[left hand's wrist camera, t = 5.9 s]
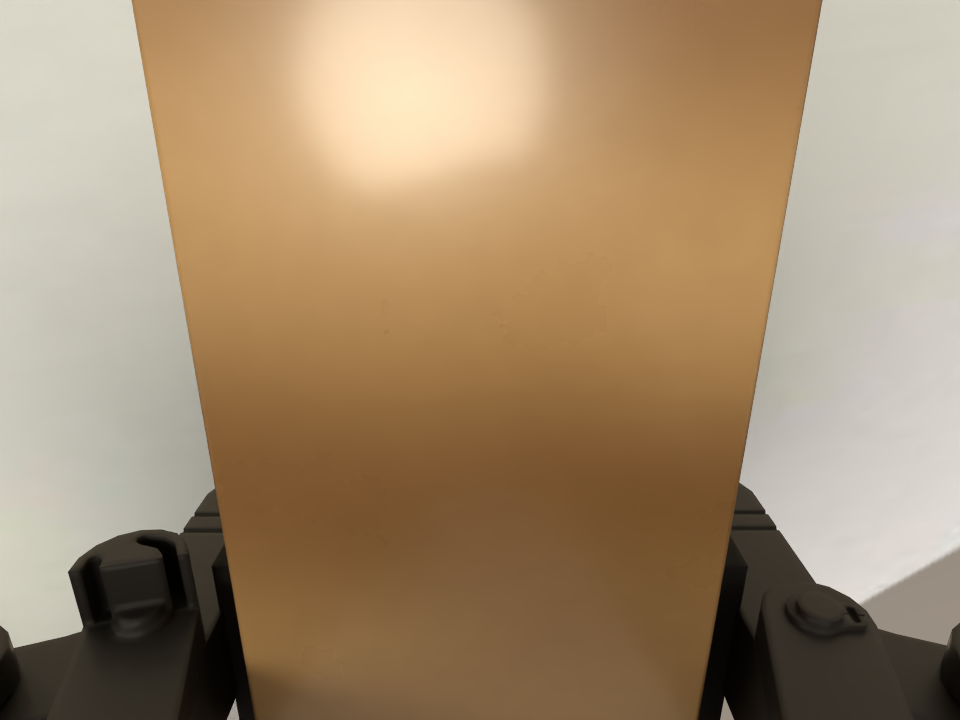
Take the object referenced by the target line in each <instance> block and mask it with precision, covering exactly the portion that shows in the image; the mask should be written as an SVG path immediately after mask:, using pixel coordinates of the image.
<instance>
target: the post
mask: <svg viewBox="0 0 960 720" xmlns="http://www.w3.org/2000/svg"><path fill="white" fill-rule="evenodd" d="M132 5H133V11H134V17H135V23H136V28H137V34H138V40H139V46H140V52H141V58H142V63H143V69H144V75H145V81H146V87H147V93H148V98H149V104H150V110H151V116H152V122H153V128H154V133H155V139H156V145H157V151H158V157H159V163H160V168H161V174H162V180H163V186H164V192H165V198H166V203H167V209H168V215H169V221H170V227H171V233H172V239H173V244H174V250H175V256H176V262H177V268H178V274H179V279H180V285H181V291H182V297H183V303H184V309H185V314H186V320H187V326H188V332H189V338H190V344H191V349H192V355H193V361H194V367H195V373H196V379H197V384H198V390H199V396H200V402H201V408H202V414H203V419H204V425H205V431H206V437H207V443H208V449H209V454H210V460H211V466H212V472H213V478H214V484H215V490H216V495H217V501H218V507H219V513H220V519H221V525H222V530H223V536H224V542H225V548H226V554H227V560H228V565H229V571H230V577H231V583H232V589H233V595H234V600H235V606H236V612H237V618H238V624H239V630H240V635H241V641H242V647H243V653H244V659H245V665H246V670H247V676H248V682H249V688H250V694H251V700H252V706H253V711H254V717H255V720H698V717H699V711H700V706H701V700H702V694H703V688H704V682H705V677H706V671H707V665H708V659H709V654H710V648H711V642H712V636H713V630H714V625H715V619H716V613H717V607H718V601H719V596H720V590H721V584H722V578H723V572H724V567H725V561H726V555H727V549H728V543H729V538H730V532H731V526H732V520H733V515H734V509H735V503H736V497H737V491H738V486H739V480H740V474H741V468H742V462H743V457H744V451H745V445H746V439H747V433H748V428H749V422H750V416H751V410H752V404H753V399H754V393H755V387H756V381H757V376H758V370H759V364H760V358H761V352H762V347H763V341H764V335H765V329H766V323H767V318H768V312H769V306H770V300H771V294H772V289H773V283H774V277H775V271H776V265H777V260H778V254H779V248H780V242H781V237H782V231H783V225H784V219H785V213H786V208H787V202H788V196H789V190H790V184H791V179H792V173H793V167H794V161H795V155H796V150H797V144H798V138H799V132H800V126H801V121H802V115H803V109H804V103H805V98H806V92H807V86H808V80H809V74H810V69H811V63H812V57H813V51H814V45H815V40H816V34H817V28H818V22H819V16H820V11H821V5H822V0H132Z"/></svg>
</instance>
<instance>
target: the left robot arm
mask: <svg viewBox="0 0 960 720" xmlns="http://www.w3.org/2000/svg"><path fill="white" fill-rule="evenodd" d="M68 573H69V577H70V581H71V584H72V588H73V591H74V595H75V598H76V602H77V605H78V609H79V612H80V616H81V619H82V623H83V629H82V632H79V633H75V634H72V635H69V636H65V637H61V638H57V639H52V640H48V641H43V642H39V643H35V644H30V645H26V646H21V647H17V648H13V645H12V642H11V639H10V636H9V634H8V632H7V631H6V630H5V629H4V628H2V627H1V626H0V720H227V718H228V715H229V713H230V710H231V708H232V706H233V703H234V701H235V698H236V703H237V709H238V714H239V720H255V717H254V711H253V706H252V700H251V694H250V688H249V682H248V676H247V670H246V665H245V659H244V653H243V647H242V641H241V635H240V630H239V624H238V618H237V612H236V606H235V600H234V595H233V589H232V583H231V577H230V571H229V565H228V560H227V554H226V548H225V542H224V536H223V530H222V525H221V519H220V513H219V507H218V501H217V495H216V490H215V489H214V490H213V491H211V492H210V493H208V494H207V496H206V497H205V499H204V500H203V502H202V503H201V504H200V506H199V507H198V509H197V510H196V512H195V516H194V517H191V519H190V520H189V522H188V523H187V525H186V526H185V528H184V532H183V533H180V535H178V534H177V533H173V532H169V531H165V530H140V531H136V532H132V533H128V534H123V535H119V536H117V537H114V538H112V539H110V540H108V541H105V542H103V543H101V544H99V545H96V546H95V547H94V548H92V549H91V550H89V551H88V552H87V553H85V554H84V555H82V556H81V557H80V558H79V559H78V560H77V561H76V562H75V564H74V565H73V566H72V568H71V569H70V570H69V571H68ZM724 696H725V698H726V701H727V703H728V706H729V708H730V710H731V713H732V715H733V718H734V720H960V623H959V624H958V625H957V626H956V627H955V628H953V629H952V632H951V635H950V638H949V641H948V644H947V646H946V645H942V644H938V643H933V642H929V641H924V640H920V639H915V638H911V637H907V636H902V635H898V634H894V633H891V632H887V631H884V630H880V629H878V628H877V626H876V624H875V623H874V621H873V620H872V618H871V617H870V615H869V614H868V612H867V611H866V610H865V609H864V608H862V607H861V606H860V605H859V604H857V603H856V602H855V601H854V600H852V599H851V598H850V597H848V596H846V595H844V594H842V593H840V592H838V591H836V590H834V589H832V588H830V587H827V586H824V585H820V584H816V583H815V581H814V580H813V578H812V577H811V575H810V574H809V572H808V571H807V570H806V568H805V567H804V565H803V564H802V562H801V561H800V560H799V558H798V557H797V555H796V554H795V552H794V551H793V550H792V548H791V547H790V545H789V544H788V542H787V541H786V540H785V538H784V537H783V535H782V534H781V532H780V531H779V530H777V529H776V525H775V524H774V522H773V521H772V519H771V518H770V517H769V515H768V514H766V513H765V509H764V508H763V507H762V505H761V504H760V502H759V501H758V499H757V498H756V496H755V495H754V494H753V492H752V491H750V490H749V489H748V488H746V487H745V486H743V485H742V484H740V483H739V486H738V491H737V497H736V503H735V509H734V515H733V520H732V526H731V532H730V538H729V543H728V549H727V555H726V561H725V567H724V572H723V578H722V584H721V590H720V596H719V601H718V607H717V613H716V619H715V625H714V630H713V636H712V642H711V648H710V654H709V659H708V665H707V671H706V677H705V682H704V688H703V694H702V700H701V706H700V711H699V717H698V720H720V717H721V712H722V706H723V701H724Z"/></svg>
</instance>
